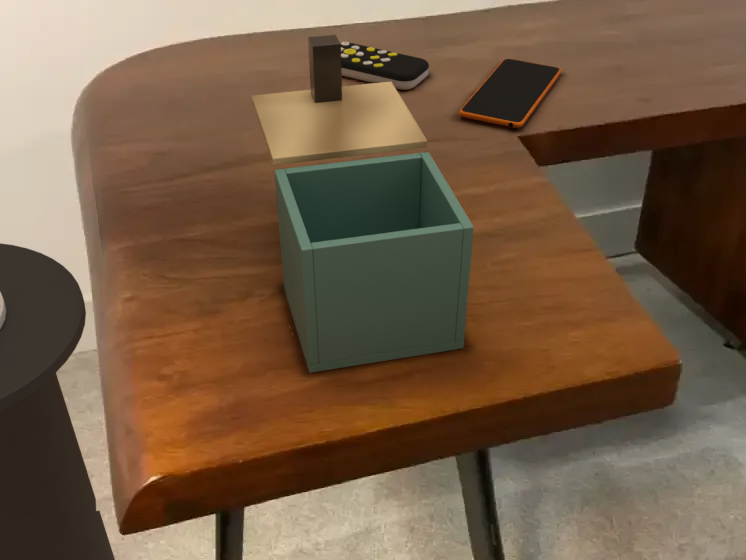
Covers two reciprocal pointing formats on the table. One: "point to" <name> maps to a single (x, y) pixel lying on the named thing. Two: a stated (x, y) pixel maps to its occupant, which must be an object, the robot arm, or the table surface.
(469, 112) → the smartphone
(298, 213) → the box
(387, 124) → the slide lid
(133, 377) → the table surface
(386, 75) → the remote control
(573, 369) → the table surface
